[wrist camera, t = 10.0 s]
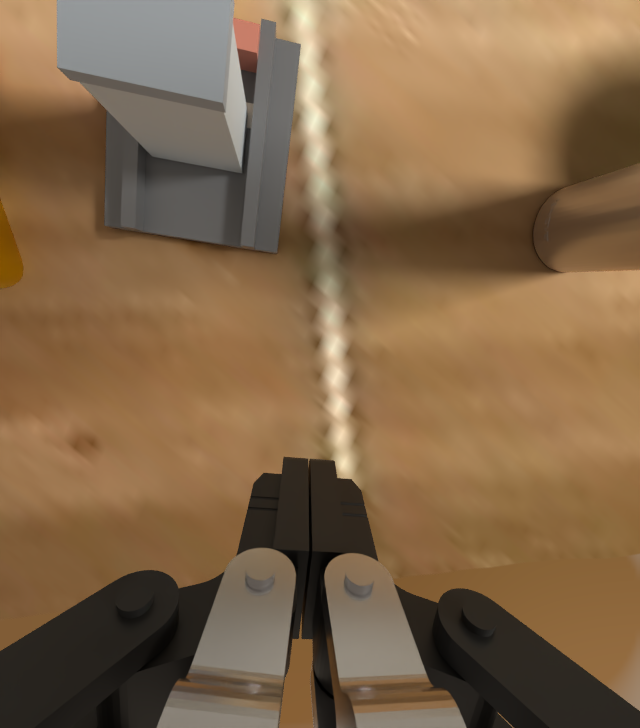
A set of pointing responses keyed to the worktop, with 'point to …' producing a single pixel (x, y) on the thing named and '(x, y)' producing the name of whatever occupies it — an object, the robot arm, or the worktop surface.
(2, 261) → the element tile
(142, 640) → the robot arm
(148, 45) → the grey tall block
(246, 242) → the track
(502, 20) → the worktop surface
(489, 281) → the worktop surface
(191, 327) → the worktop surface
